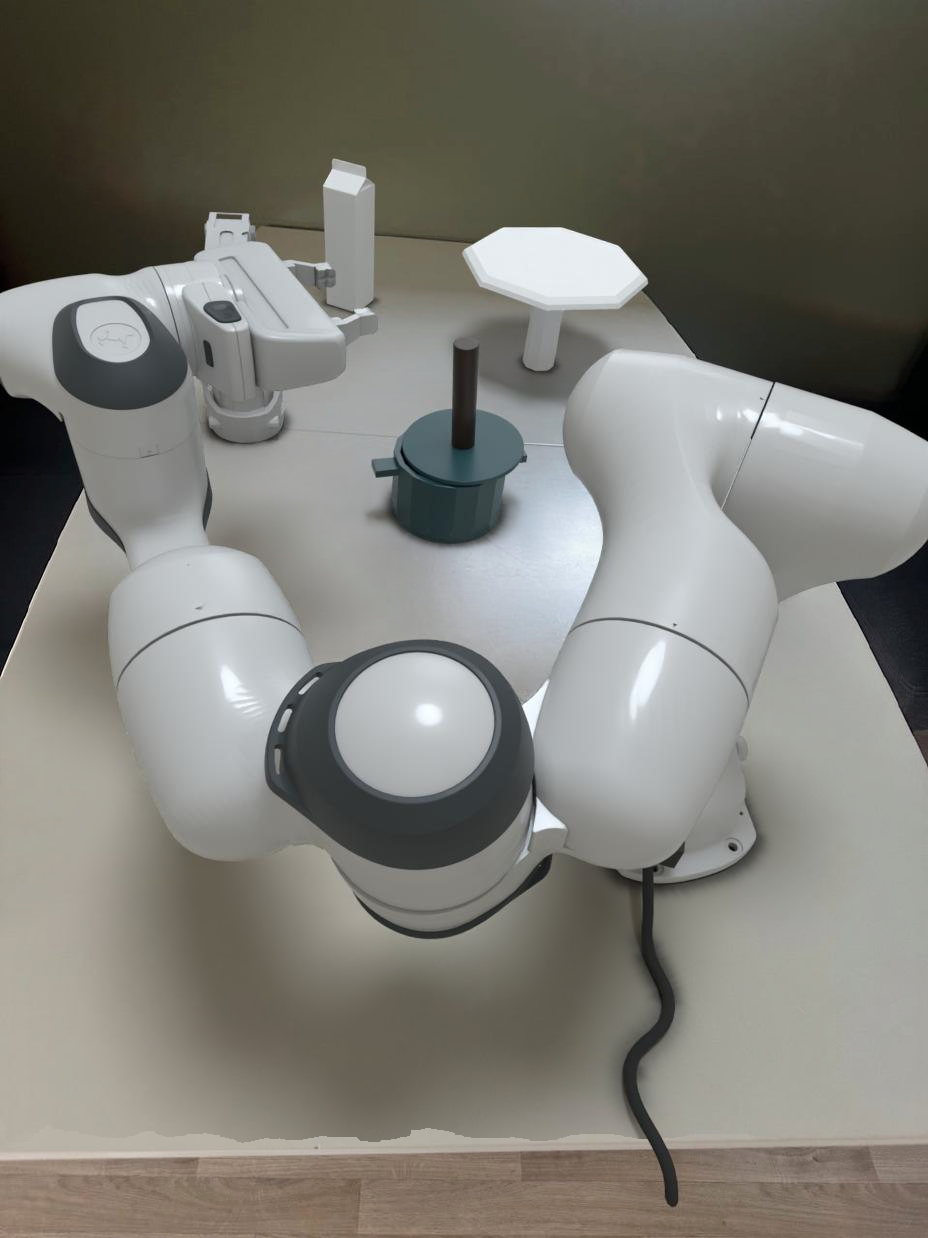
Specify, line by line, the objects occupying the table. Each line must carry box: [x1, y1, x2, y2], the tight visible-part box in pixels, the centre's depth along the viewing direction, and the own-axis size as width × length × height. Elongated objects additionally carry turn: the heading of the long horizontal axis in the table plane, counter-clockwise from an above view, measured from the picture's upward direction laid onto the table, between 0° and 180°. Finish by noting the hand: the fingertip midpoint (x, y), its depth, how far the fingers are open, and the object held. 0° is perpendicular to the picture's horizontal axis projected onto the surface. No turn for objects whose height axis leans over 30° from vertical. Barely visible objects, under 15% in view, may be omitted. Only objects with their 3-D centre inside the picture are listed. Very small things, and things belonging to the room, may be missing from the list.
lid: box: [402, 336, 525, 486], centre depth 91 cm, size 15×15×14 cm
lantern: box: [201, 211, 286, 444], centre depth 102 cm, size 13×10×25 cm
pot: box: [371, 430, 528, 544], centre depth 99 cm, size 14×19×8 cm
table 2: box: [461, 226, 649, 372], centre depth 124 cm, size 28×28×17 cm
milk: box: [322, 158, 376, 313], centre depth 130 cm, size 6×6×22 cm
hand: (353, 296), depth 73 cm, fingers open, 8 cm apart
